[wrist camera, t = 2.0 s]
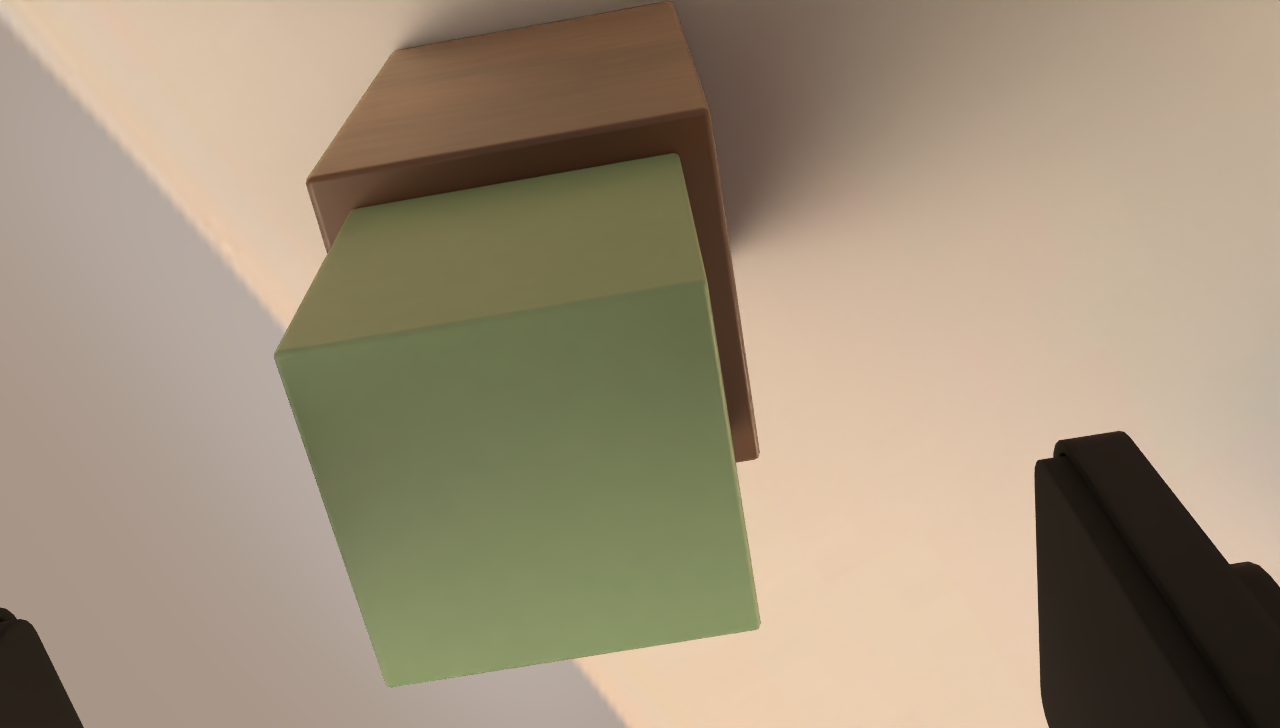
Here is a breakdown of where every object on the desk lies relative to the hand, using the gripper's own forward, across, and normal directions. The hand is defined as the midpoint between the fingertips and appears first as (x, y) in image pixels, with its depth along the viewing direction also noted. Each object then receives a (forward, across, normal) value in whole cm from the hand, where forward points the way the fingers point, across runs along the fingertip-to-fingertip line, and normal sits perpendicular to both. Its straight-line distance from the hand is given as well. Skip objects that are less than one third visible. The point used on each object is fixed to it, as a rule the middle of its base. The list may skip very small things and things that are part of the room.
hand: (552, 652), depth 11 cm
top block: (+7, 0, 0) cm, 7 cm away
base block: (+15, 0, 0) cm, 15 cm away
